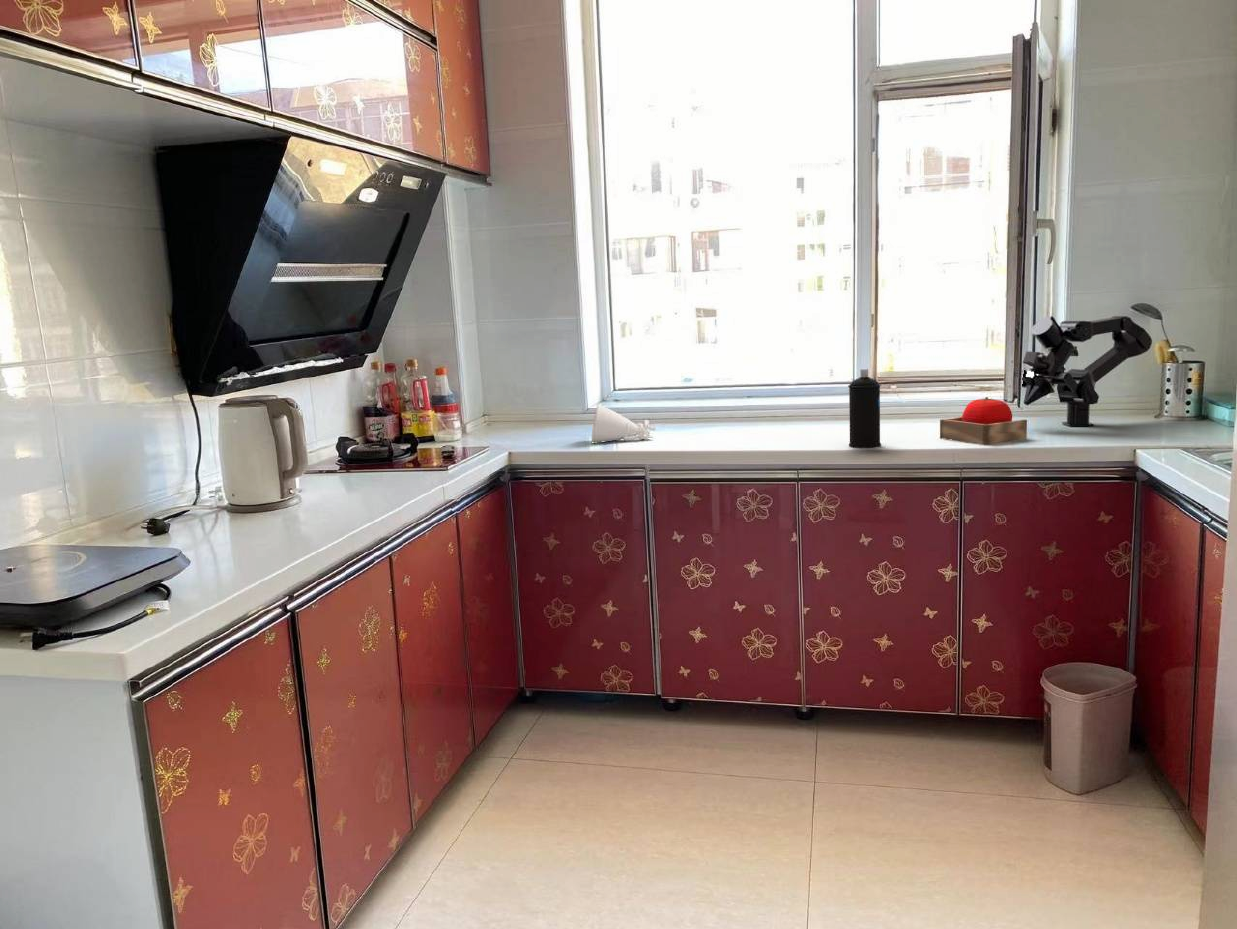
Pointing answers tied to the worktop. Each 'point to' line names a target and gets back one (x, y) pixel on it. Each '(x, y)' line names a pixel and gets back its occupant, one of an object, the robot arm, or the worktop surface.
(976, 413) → the tomato
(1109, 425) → the worktop surface
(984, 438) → the tray
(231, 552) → the worktop surface
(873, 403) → the aerosol can
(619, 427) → the rocket engine
